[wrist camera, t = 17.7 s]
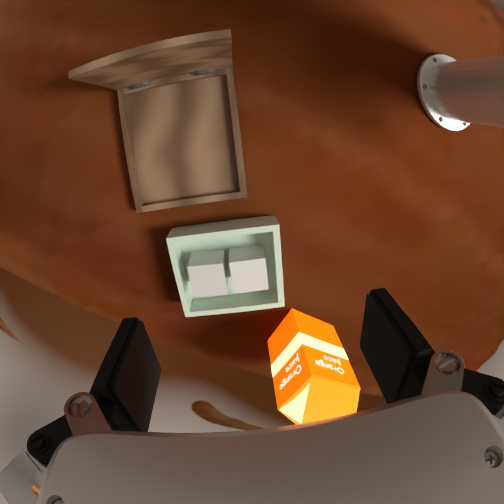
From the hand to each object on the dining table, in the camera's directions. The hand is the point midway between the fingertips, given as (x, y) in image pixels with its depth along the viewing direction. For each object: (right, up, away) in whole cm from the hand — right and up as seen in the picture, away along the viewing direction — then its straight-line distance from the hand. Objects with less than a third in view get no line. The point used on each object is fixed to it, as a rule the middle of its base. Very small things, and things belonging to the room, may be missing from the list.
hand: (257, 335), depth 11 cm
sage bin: (-4, +2, +30) cm, 30 cm away
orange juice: (+8, -10, +36) cm, 39 cm away
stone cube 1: (-1, +2, +29) cm, 29 cm away
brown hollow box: (-9, +17, +23) cm, 30 cm away
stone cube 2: (-6, +2, +29) cm, 30 cm away
